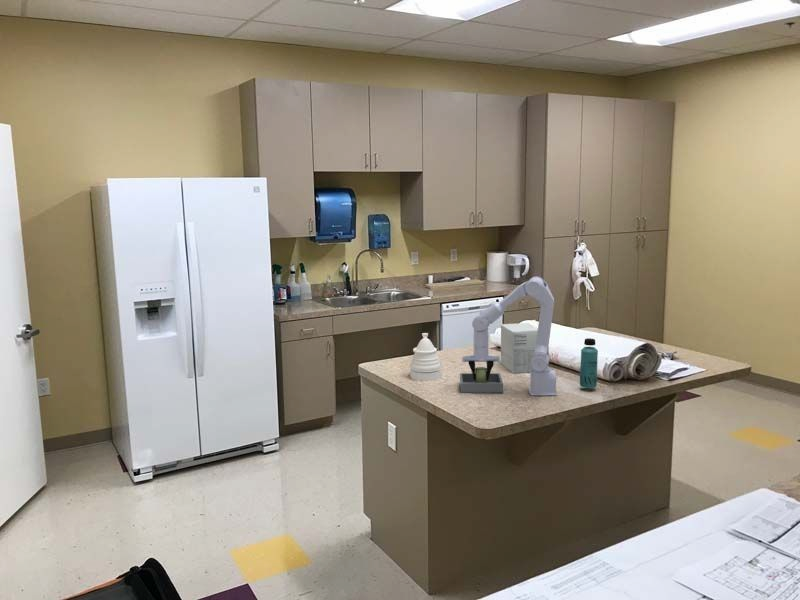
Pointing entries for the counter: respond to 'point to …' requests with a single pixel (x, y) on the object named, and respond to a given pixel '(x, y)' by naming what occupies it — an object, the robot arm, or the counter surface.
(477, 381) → the cucumber chunk
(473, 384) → the bin
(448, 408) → the counter surface
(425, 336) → the honey pot
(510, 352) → the supplement box
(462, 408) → the counter surface
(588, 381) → the beverage bottle
